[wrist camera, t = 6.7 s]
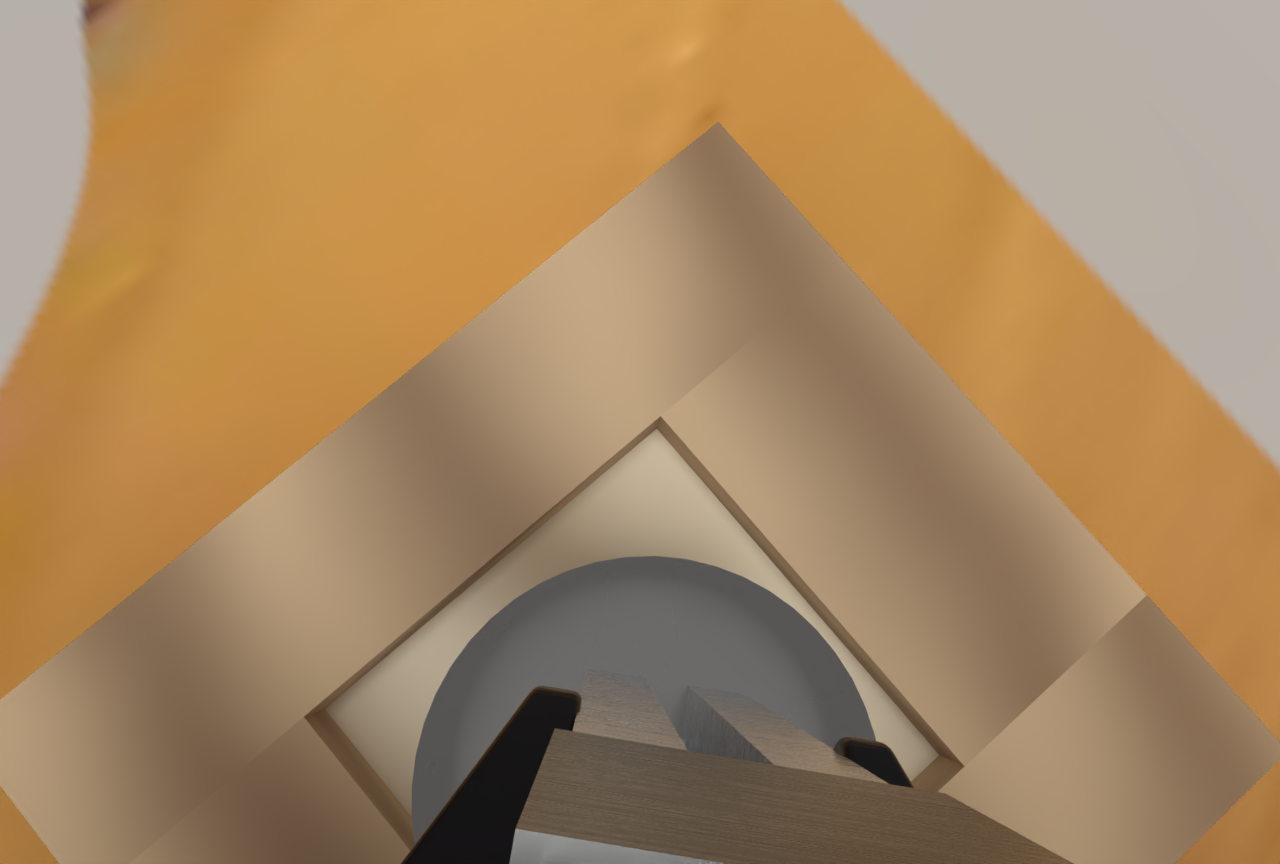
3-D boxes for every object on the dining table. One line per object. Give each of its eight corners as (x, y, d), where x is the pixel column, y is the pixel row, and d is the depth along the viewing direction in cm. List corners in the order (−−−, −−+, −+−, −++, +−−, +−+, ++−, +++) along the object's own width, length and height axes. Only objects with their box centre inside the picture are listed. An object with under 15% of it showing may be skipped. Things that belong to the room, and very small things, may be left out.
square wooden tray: (544, 1386, 20) (536, 1494, 18) (32, 717, 22) (-41, 732, 19) (1213, 734, 22) (1288, 751, 20) (706, 171, 24) (718, 122, 22)
